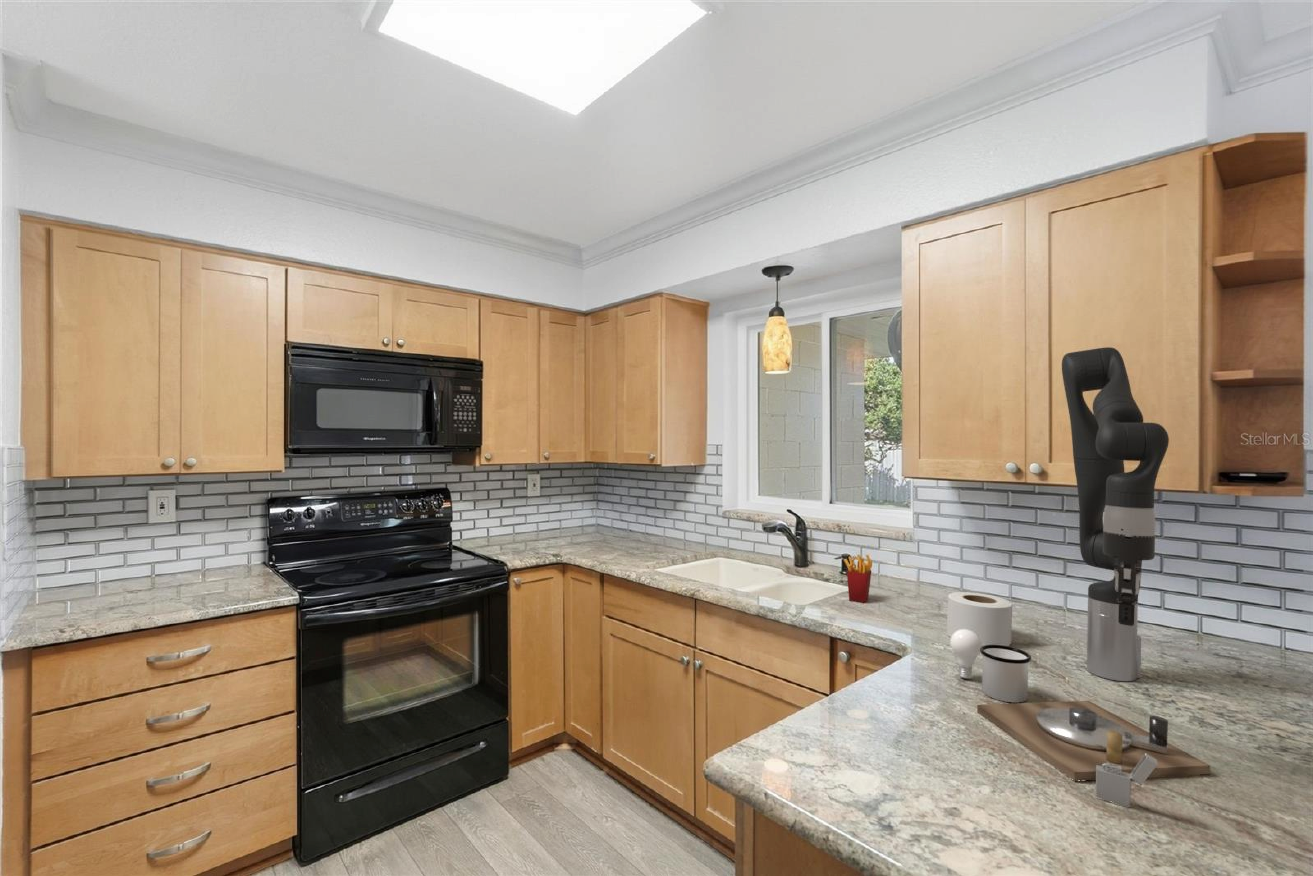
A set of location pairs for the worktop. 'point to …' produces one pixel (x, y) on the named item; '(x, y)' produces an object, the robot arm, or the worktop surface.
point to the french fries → (859, 578)
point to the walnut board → (1081, 760)
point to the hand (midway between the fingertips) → (1126, 619)
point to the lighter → (1121, 780)
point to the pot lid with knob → (1099, 729)
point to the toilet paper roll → (980, 617)
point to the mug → (1005, 673)
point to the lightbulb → (965, 650)
